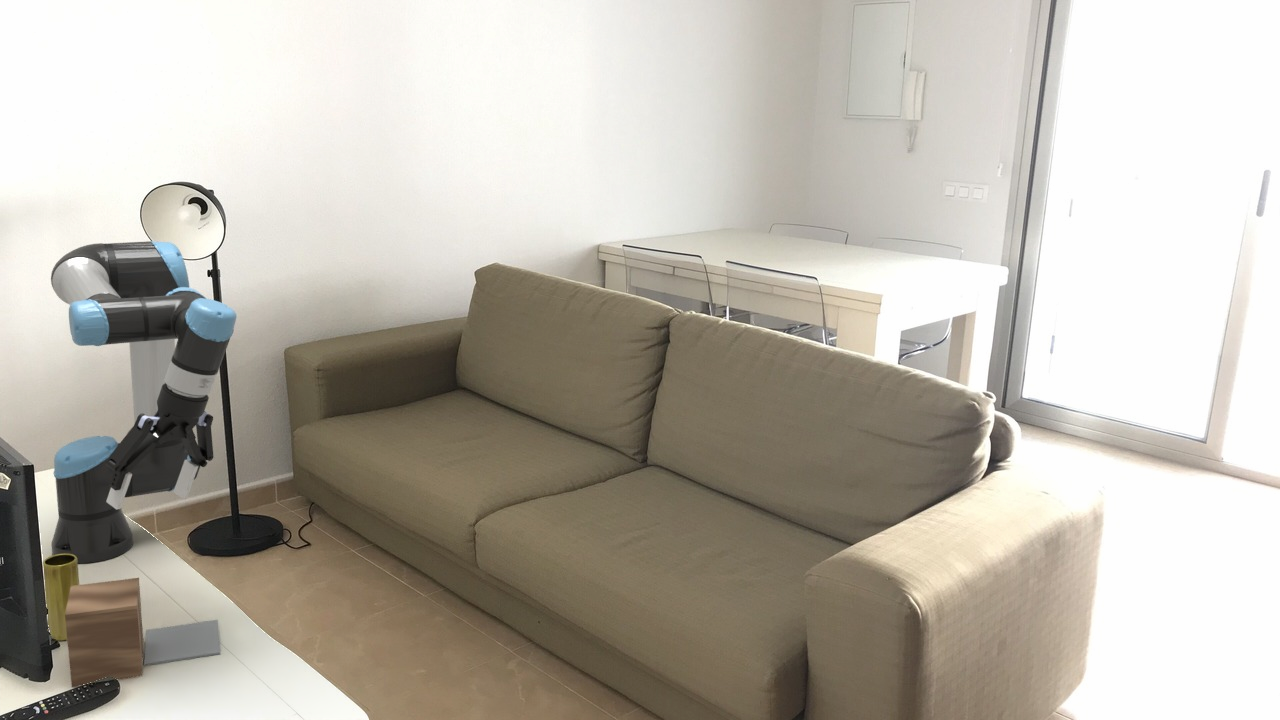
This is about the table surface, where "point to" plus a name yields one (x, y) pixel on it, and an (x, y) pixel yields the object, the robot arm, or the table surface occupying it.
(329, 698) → the table surface
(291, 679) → the table surface
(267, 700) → the table surface
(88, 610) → the brown wooden block
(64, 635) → the vase
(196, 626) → the mat
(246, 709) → the table surface
